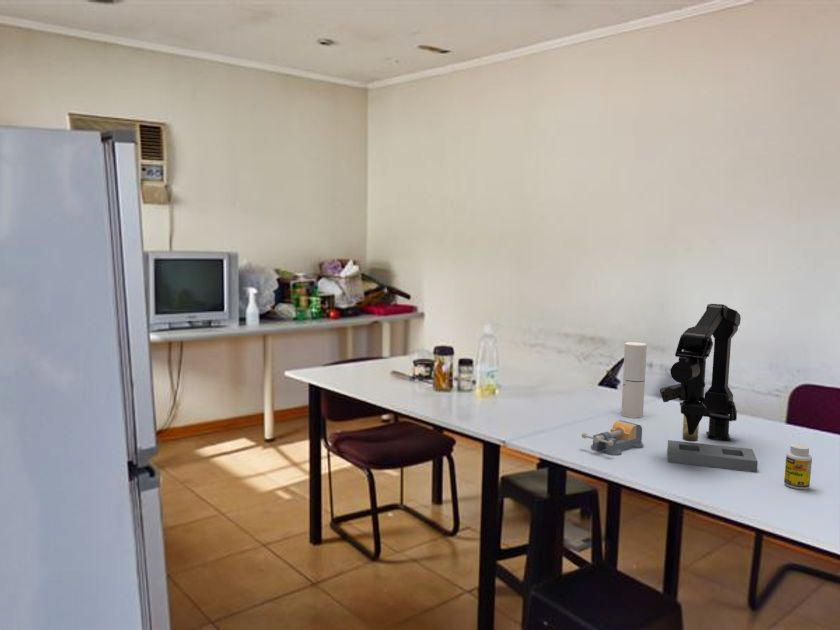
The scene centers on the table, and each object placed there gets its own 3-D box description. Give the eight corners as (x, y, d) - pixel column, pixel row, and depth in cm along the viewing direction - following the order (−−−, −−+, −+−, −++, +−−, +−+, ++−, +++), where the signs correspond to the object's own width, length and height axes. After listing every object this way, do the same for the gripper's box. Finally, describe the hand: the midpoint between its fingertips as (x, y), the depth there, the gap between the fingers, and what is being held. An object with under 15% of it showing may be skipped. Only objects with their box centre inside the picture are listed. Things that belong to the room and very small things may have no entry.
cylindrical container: (634, 419, 227) (638, 346, 224) (617, 414, 233) (620, 343, 230) (647, 416, 231) (651, 344, 228) (629, 411, 237) (633, 341, 234)
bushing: (682, 436, 189) (683, 408, 188) (697, 438, 188) (699, 409, 187) (682, 440, 185) (684, 411, 184) (698, 442, 184) (699, 413, 183)
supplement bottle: (779, 485, 168) (782, 445, 166) (790, 480, 171) (793, 441, 170) (803, 492, 163) (806, 451, 162) (813, 487, 166) (817, 447, 165)
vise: (617, 438, 205) (618, 417, 204) (647, 447, 197) (648, 425, 196) (580, 449, 194) (581, 427, 193) (610, 459, 186) (611, 436, 185)
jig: (667, 450, 194) (667, 440, 194) (751, 459, 187) (752, 448, 187) (667, 461, 184) (668, 451, 184) (756, 472, 177) (757, 461, 176)
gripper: (662, 368, 196) (659, 420, 198) (662, 381, 179) (659, 438, 180) (703, 371, 192) (700, 424, 194) (708, 385, 175) (704, 443, 177)
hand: (690, 432), depth 186 cm, fingers closed on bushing, 4 cm apart
